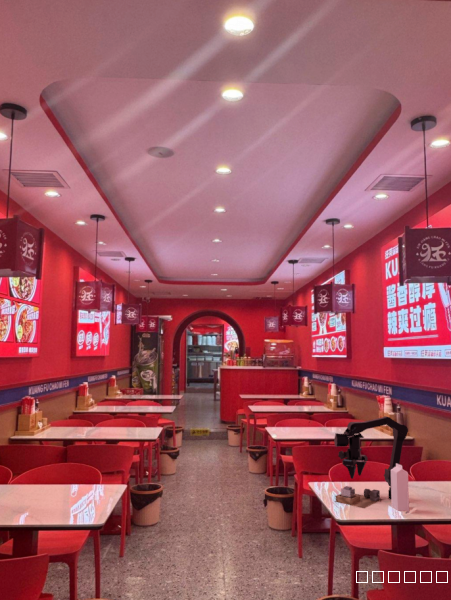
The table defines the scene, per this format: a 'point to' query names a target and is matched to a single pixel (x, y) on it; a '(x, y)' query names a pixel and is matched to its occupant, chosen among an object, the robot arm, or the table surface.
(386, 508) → the table surface
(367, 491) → the wheel
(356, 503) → the frame
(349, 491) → the block
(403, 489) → the milk
